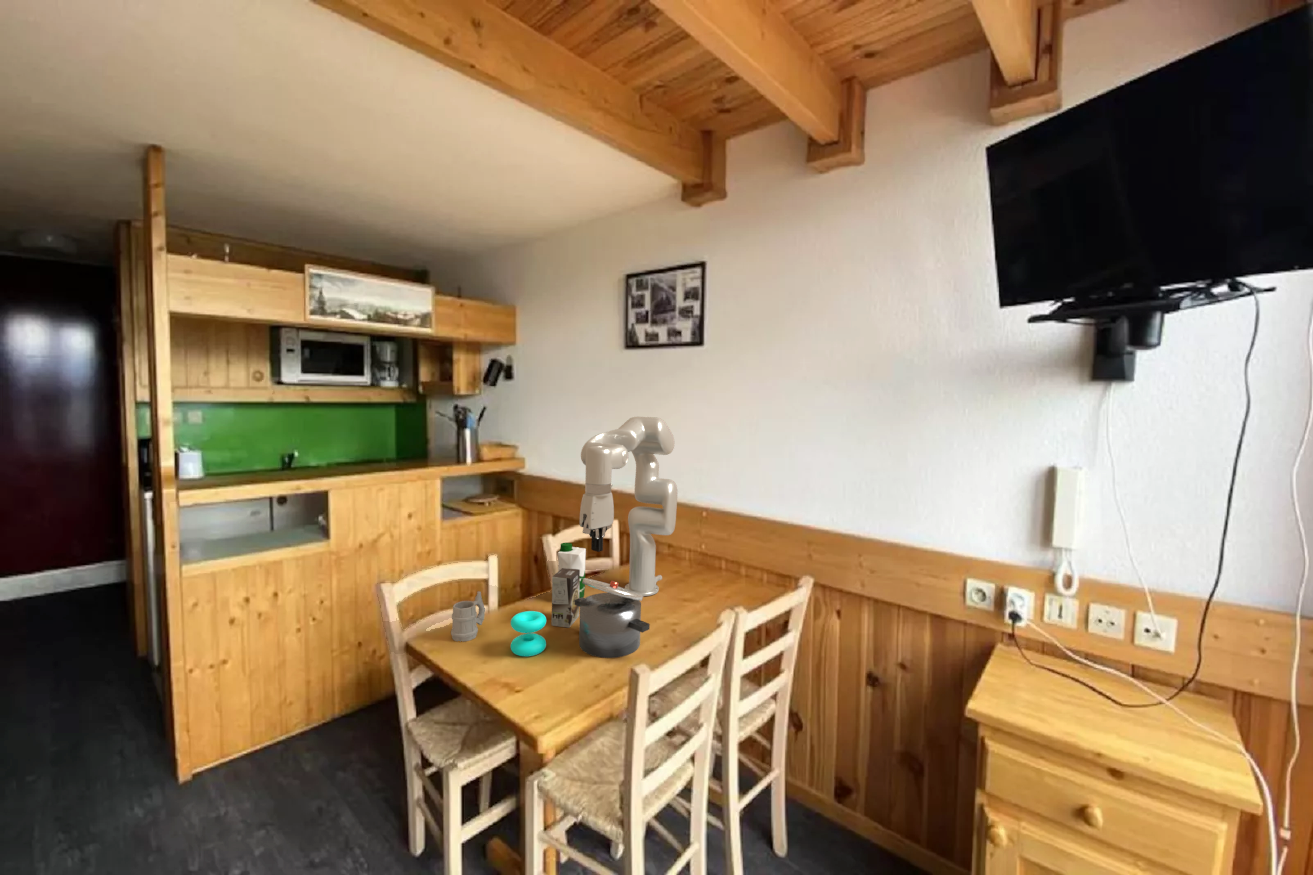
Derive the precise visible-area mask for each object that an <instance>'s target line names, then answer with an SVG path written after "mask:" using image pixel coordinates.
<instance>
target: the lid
mask: <svg viewBox="0 0 1313 875" xmlns="http://www.w3.org/2000/svg"><path fill="white" fill-rule="evenodd" d="M582 583H583V584H585V586H588V587H590V588H593V589H595V590H599V591H602V592H604V593H611V594H615V595H618V596H622V597H626V598H630V599H634V600H639V601H640V602H641V601H643V599H644V596H642V595H640V594H638V593H636V592H633V591H630V590H627V589H625V587H621V586H619V582H618V581H614V580H610V583H607V582H603V581H599V580H596V579H592V578H587V577H585V578H583V582H582Z"/></svg>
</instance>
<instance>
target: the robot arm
mask: <svg viewBox="0 0 1313 875" xmlns="http://www.w3.org/2000/svg"><path fill="white" fill-rule="evenodd" d="M674 449H675V437H674V435H673V432H672V431H671V429H670V427H669V426H668V424H667V423H666V421H664V420H663V419H662V418H660V417H651V416H632V417H630V418H629V419H628V420H626V421H625V422H624V423H622V424H621V426H619V427H618V428H616V429H612V430H609V431H605V432H602V433H598V434H597V435H594V436H592V437H590V438H589V439H588V440H587V441H586V442H585V443H584V445H583V447H582V448H581V452H580V459H581V462H582V463H583V465H584V466H585V481H584V482H585V484H584V485H585V486H584V487H585V488H584V491H585V492H584V493H583V494H582V498H581V502H580V509H579V510H580V512H579V527H580V528H582V534H586V535H588V536H589V538H591V542H590V544H591V546H590V547H591V548H590V549H591V551H594V552H598V553H599V552H602V551H603V550H604V537H605V536H606V532H607V531H608V530H609V529H611V528H612V526H613V525H612V524H614V517H615V507H614V495H613V493H612V488H613V483H612V470H620V469H622V468H624V467H625V466H626V465H627V463H628V461H629V453H631V454H632V455H633V458H634V461H635V479H634V491H633V492H634V498H635V500H636V501H637V502H640V503H644V504H650V505H651V504H653V505H660V506H662V508H660V507H651V506H643V505H642V506H640V505H639V506H635V507H633V508H632V509H630V510H629V512H628V515H627V517H628V518H627V523H628V528H629V529H628V531H629V580H628V583H627V584H626V585H625V586H624V589H627V590H630V591H633V592H636V593H638V594H640V595H642V596H643V597H649V596H653V595H656V594H657V593H659V589H660V588H659V586H658V585H657V583H658V582H659V581H662V580H663V576H662V575H661V574H658V575H656V553H657V552H656V549H657V546H656V542H655V539H654V537H653V536H652V535H658V536H659V535H660V536H670V535H672V534H673V533H674V531H675V528H676V522H677V510H678V509H677V505H678V486H677V484H676V482H675V481H674V480H672V479H669V478H660V476H659V475H660V473H659V472H660V471H659V470H660V464H659V461H658V458H657V457H656V456H655V455H659V456H660V455H661V456H662V455H663V456H666V455H668V456H669V455H670V454H671V453H672V452H673V451H674Z"/></svg>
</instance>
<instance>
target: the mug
mask: <svg viewBox="0 0 1313 875" xmlns="http://www.w3.org/2000/svg"><path fill="white" fill-rule="evenodd" d="M474 599H475V600H473V601H472V600H462V601H458V602H456V603H454V604H453V606H452V614H451V619H452V623H451V624H452V628H451V630H450V634H451V639H452V640H453V641H454V642H458V641H460V642H461V641H462V642H469V641H472V640H473V639H475V638H476V637H477V636H478V632H479V627H478V626H477V624H478V625H479V626H482V625H483V622H484V620H485V615H486V614H485V613H486V608H485V604H484V602H483V598H482V592H481V591H479V590H478V591H477V592H476V596H475V597H474ZM476 606H477V607H478V613H477V609H476Z"/></svg>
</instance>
